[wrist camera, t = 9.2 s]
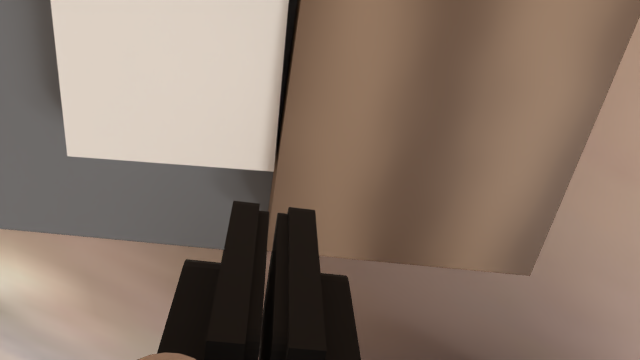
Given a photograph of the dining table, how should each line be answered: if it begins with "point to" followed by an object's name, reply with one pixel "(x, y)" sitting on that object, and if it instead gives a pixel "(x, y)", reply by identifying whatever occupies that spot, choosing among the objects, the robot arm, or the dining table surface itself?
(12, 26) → the rubber mat
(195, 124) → the coaster
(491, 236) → the walnut block
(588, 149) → the dining table surface
